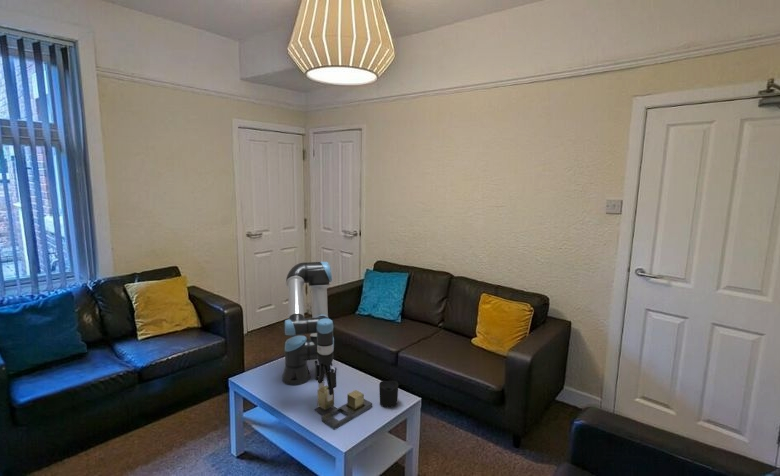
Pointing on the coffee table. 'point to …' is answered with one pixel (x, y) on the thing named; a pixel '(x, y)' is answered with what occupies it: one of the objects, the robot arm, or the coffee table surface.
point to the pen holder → (388, 393)
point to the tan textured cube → (324, 398)
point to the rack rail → (346, 411)
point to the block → (355, 400)
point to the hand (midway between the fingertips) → (325, 397)
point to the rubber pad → (324, 412)
